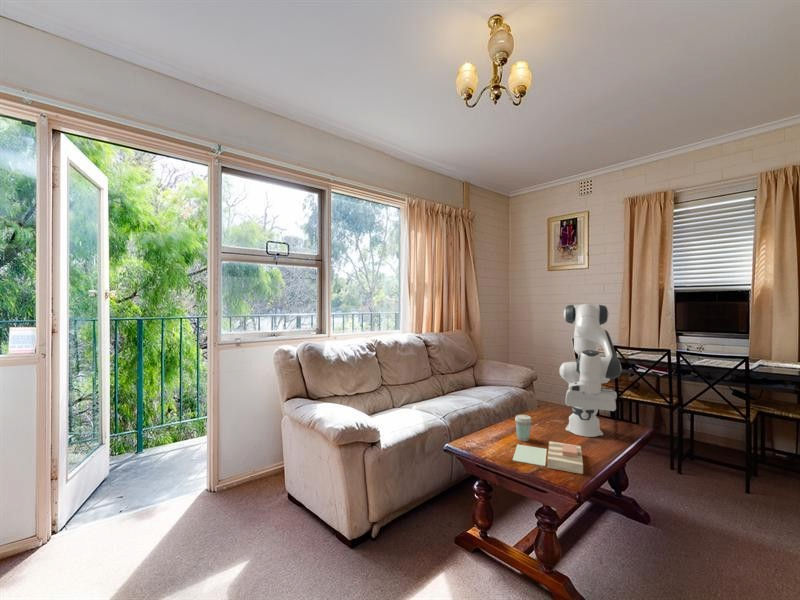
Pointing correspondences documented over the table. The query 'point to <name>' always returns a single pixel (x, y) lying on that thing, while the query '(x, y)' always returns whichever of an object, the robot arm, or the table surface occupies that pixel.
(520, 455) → the mat
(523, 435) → the coffee cup
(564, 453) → the pink rectangular block
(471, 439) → the table surface
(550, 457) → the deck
